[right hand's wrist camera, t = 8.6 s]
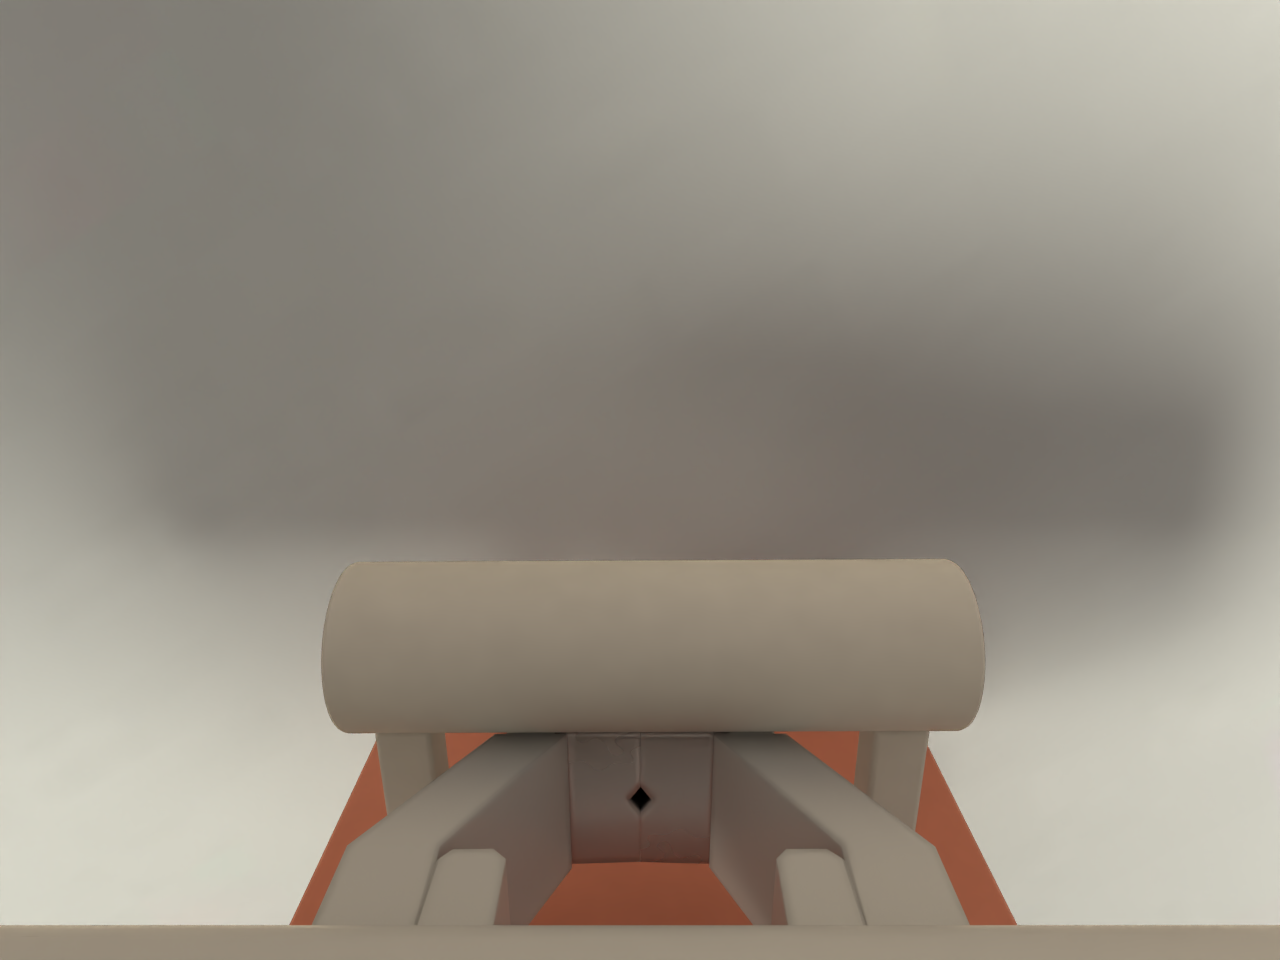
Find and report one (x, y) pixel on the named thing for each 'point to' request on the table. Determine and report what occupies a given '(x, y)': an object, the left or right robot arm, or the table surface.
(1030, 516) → the table surface
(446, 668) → the drawer
